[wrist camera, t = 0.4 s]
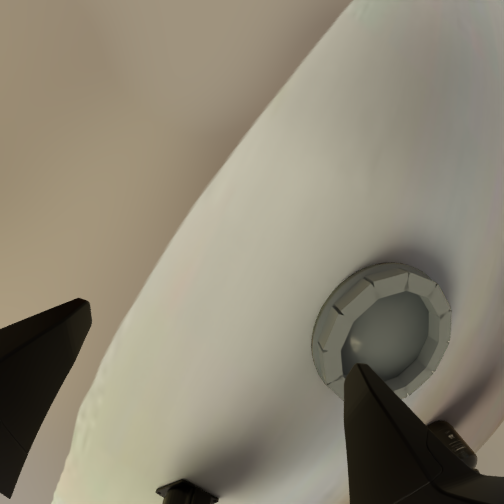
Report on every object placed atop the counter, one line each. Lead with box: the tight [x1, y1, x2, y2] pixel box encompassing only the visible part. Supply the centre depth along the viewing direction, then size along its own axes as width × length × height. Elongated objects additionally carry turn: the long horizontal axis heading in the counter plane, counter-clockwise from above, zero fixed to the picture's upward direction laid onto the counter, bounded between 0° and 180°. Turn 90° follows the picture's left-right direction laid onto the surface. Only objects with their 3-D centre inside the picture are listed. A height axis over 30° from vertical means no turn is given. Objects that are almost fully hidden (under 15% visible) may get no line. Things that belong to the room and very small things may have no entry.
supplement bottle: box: [427, 421, 480, 474], centre depth 22 cm, size 7×7×12 cm
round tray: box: [311, 262, 452, 401], centre depth 23 cm, size 14×14×3 cm
